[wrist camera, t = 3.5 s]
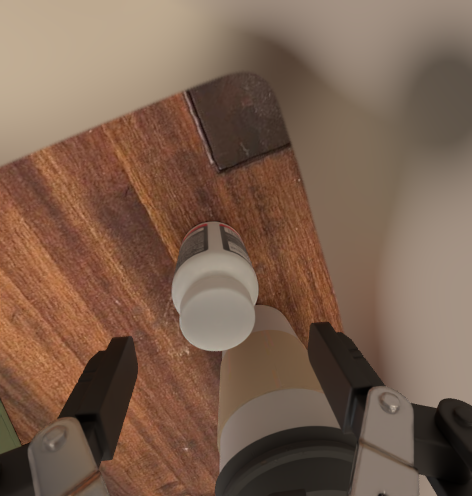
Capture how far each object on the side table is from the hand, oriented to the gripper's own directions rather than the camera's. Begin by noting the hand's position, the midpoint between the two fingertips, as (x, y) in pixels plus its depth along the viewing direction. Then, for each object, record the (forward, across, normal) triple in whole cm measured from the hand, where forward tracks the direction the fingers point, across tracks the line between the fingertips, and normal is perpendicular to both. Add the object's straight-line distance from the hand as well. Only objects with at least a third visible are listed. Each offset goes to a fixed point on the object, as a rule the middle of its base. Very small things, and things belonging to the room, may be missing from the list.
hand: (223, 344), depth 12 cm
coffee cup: (+12, -4, +9) cm, 15 cm away
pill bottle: (+12, 0, 0) cm, 12 cm away
